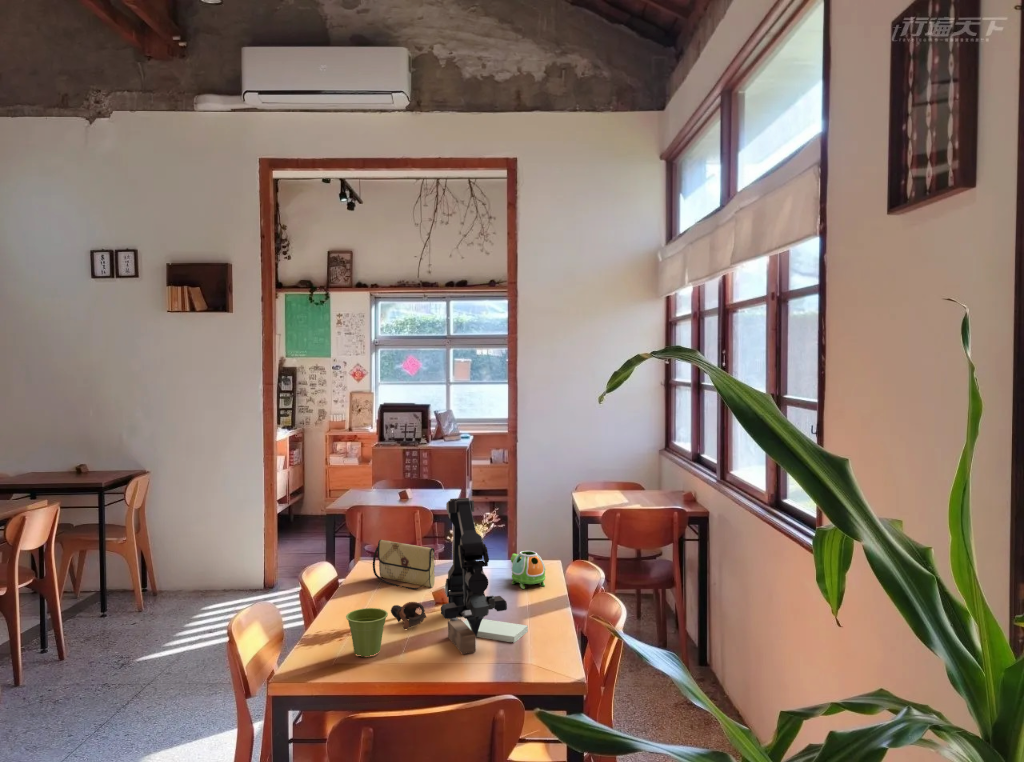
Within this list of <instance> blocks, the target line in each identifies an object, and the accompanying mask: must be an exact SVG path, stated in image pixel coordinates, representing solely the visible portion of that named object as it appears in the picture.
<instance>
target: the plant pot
mask: <svg viewBox="0 0 1024 762" xmlns="http://www.w3.org/2000/svg"><path fill="white" fill-rule="evenodd" d="M388 614H389V612H388V611H387V610H385V609H381V608H377V607H375V608H374V607H370V608H368V607H365V608H359V609H354V610H352V611H350V612H348V613H347V614H345V619H346V620H347V621H348V626H349V629H350V634H351V635H350V636H351V642H352V647H353V651H354V652H353V653H354V655H355V654H357V655H361V657H363V656H370V655H374V654H376V653H378V652H379V651H380V652H381V648H382V640H383V634H384V633H383V632H384V628H385V625H386V618H387V617H388ZM380 652H379V653H380ZM379 653H378V654H379Z"/></svg>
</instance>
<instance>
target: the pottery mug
mask: <svg viewBox="0 0 1024 762" xmlns="http://www.w3.org/2000/svg"><path fill="white" fill-rule="evenodd" d="M417 609H420V610H421V613H420V614H419V613H418V612H417ZM425 612H426V610H425V608H424V605H422V604H421V603H419V602H416V601H408V602H406V603H404V604H403V605H402V606H401V605H398V604H394V605H392V607H391V609H390V613H391V615H392V616H393V617H394V619H396V620H397V623H400V622H401V621H402V622H403V624H402V629H403V630H405V629H407V630H409V628H412V627H416V626H418V625H420V624H421V623H422V622H424V620H425V619H426V618H427V615H426V613H425Z"/></svg>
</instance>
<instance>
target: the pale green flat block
mask: <svg viewBox="0 0 1024 762" xmlns="http://www.w3.org/2000/svg"><path fill="white" fill-rule="evenodd" d="M463 622H464V623H465V624H466V625H467V626H468V627H469V628H470V629H471V627H470V625H469V622H468V620H467V619H465V620H464V621H463ZM528 628H529V626H528V625H525V624H520V623H512V622H508V621H507V622H506V621H499V620H491V619H486V618H483V619H482V621H481V623H480V627H479V630H478V633H477V636H476V638H482V639H488V640H494V641H500V642H508V643H512V642H513V644H514V643H516V642H517V641H518V640H520V638H522V637H523V636H524V635H526V634H527V633H528V632H529V630H528Z"/></svg>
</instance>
